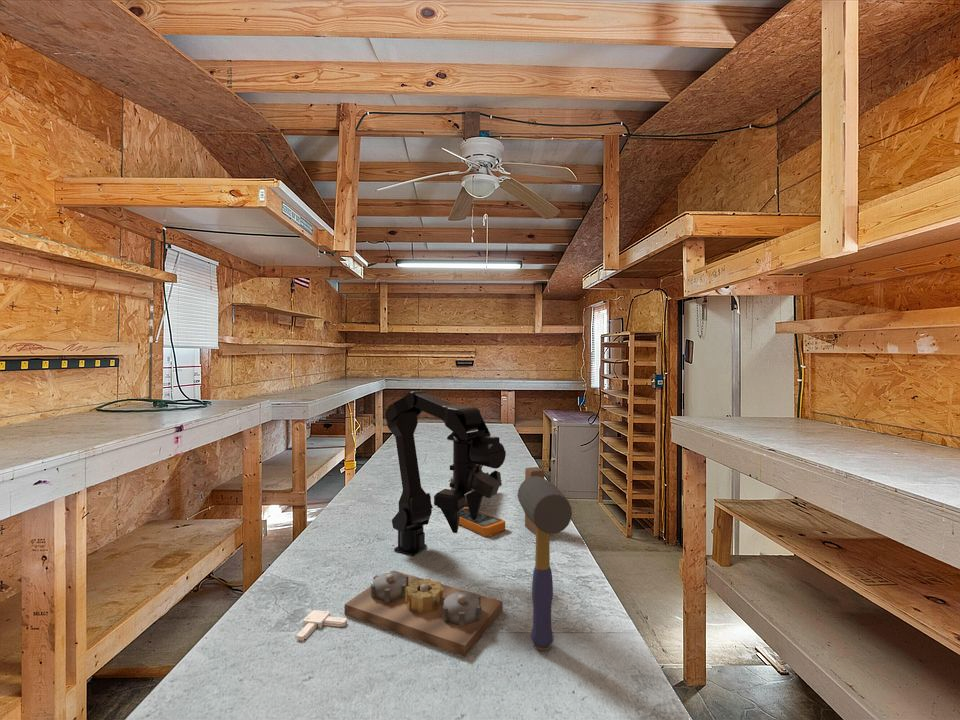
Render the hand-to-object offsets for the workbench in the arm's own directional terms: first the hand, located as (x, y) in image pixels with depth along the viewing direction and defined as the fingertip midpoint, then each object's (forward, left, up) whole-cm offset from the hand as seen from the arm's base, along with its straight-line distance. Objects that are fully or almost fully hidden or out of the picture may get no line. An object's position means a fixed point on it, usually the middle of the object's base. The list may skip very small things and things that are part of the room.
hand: (464, 526), depth 108 cm
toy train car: (-26, +49, -12) cm, 57 cm away
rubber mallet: (+25, -16, -12) cm, 32 cm away
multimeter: (-12, +29, -13) cm, 34 cm away
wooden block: (+6, +34, -12) cm, 37 cm away
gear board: (0, -17, -12) cm, 21 cm away
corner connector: (-14, -31, -13) cm, 36 cm away
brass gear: (0, -17, -10) cm, 20 cm away
